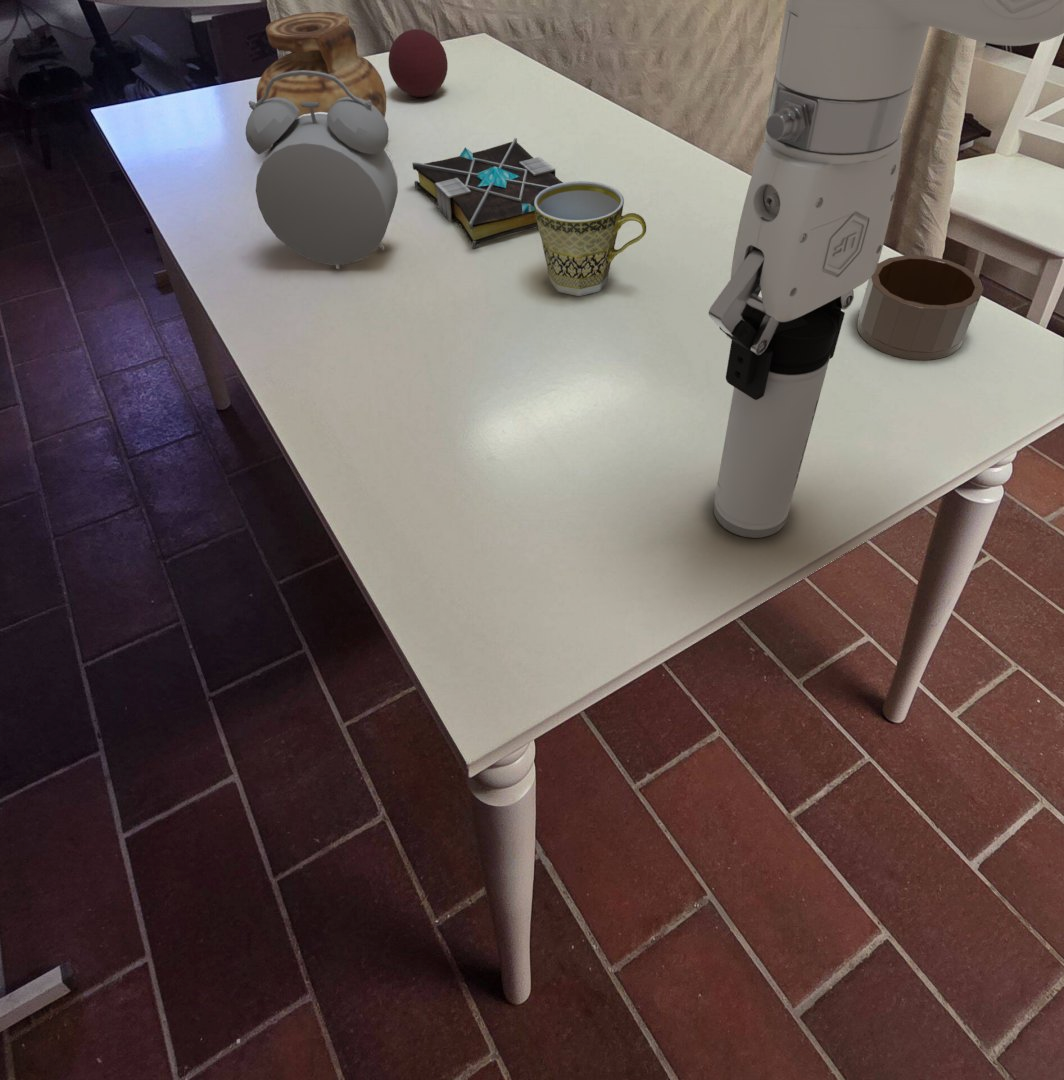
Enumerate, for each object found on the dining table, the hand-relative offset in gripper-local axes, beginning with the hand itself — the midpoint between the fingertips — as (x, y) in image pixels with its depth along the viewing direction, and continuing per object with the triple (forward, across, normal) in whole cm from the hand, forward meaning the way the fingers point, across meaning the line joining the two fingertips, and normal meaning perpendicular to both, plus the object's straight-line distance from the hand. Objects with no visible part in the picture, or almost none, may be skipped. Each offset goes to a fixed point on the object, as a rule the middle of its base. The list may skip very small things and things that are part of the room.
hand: (779, 368), depth 60 cm
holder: (+15, +34, +8) cm, 38 cm away
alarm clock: (+15, -6, +64) cm, 66 cm away
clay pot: (+15, +9, +96) cm, 97 cm away
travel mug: (+15, 0, 0) cm, 15 cm away
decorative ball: (+15, +32, +106) cm, 112 cm away
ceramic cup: (+15, +14, +38) cm, 44 cm away
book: (+15, +18, +64) cm, 68 cm away
